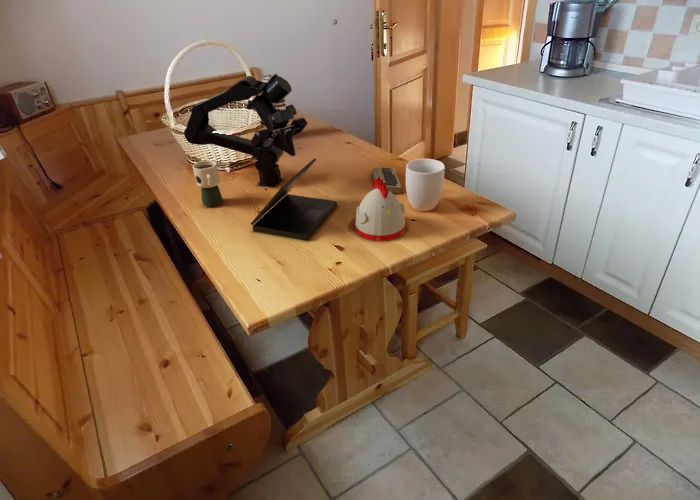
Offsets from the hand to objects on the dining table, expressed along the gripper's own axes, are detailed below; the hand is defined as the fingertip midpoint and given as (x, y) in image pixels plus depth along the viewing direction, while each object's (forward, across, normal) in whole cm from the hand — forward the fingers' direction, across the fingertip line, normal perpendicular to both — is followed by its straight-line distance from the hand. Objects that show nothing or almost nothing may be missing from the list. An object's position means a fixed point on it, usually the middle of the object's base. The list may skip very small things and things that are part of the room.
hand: (294, 155), depth 145 cm
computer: (+21, +24, -3) cm, 32 cm away
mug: (+34, +20, -16) cm, 42 cm away
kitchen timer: (+34, +1, -15) cm, 37 cm away
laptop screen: (+10, -12, -3) cm, 16 cm away
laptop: (+18, -11, 0) cm, 21 cm away
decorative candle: (-24, +29, +43) cm, 58 cm away
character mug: (-2, -22, +20) cm, 30 cm away
